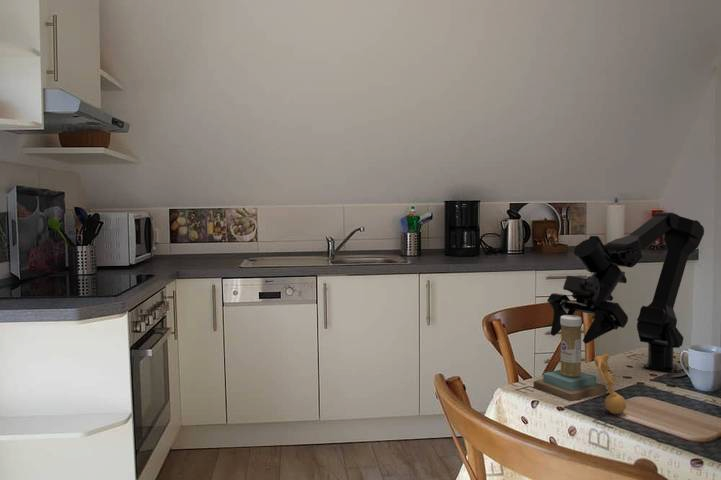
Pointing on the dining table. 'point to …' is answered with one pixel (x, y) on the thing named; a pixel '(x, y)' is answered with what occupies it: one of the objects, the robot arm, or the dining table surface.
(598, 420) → the dining table surface
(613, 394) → the figurine
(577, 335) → the sprinkles bottle
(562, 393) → the tower base
